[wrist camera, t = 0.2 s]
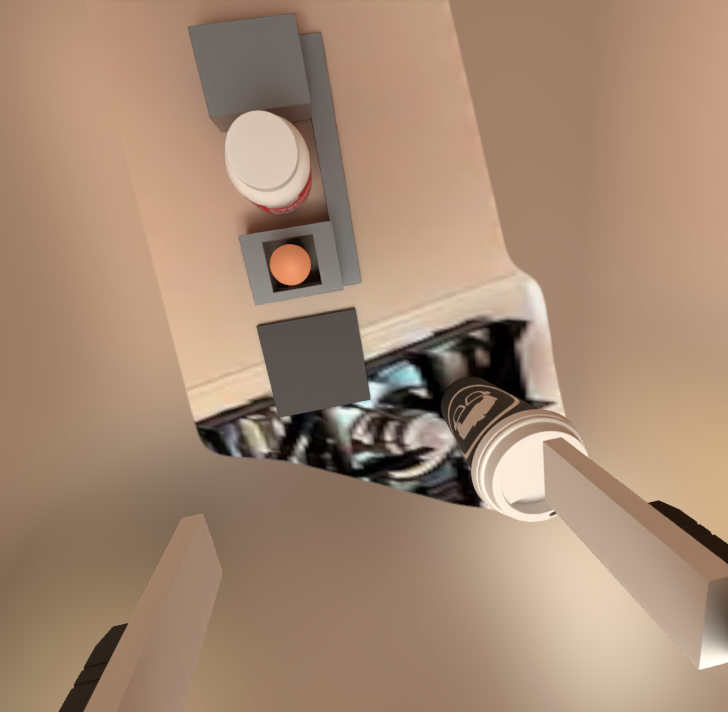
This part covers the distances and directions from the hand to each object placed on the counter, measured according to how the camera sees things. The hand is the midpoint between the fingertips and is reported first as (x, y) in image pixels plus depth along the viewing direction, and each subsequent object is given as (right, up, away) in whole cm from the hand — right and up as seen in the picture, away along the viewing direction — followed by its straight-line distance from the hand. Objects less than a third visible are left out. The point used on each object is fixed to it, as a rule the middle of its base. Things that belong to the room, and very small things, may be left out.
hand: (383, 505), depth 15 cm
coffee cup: (+11, 0, +29) cm, 31 cm away
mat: (-6, +5, +26) cm, 27 cm away
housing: (-8, +22, +21) cm, 31 cm away
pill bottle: (-9, +22, +21) cm, 32 cm away
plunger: (-7, +14, +21) cm, 26 cm away
